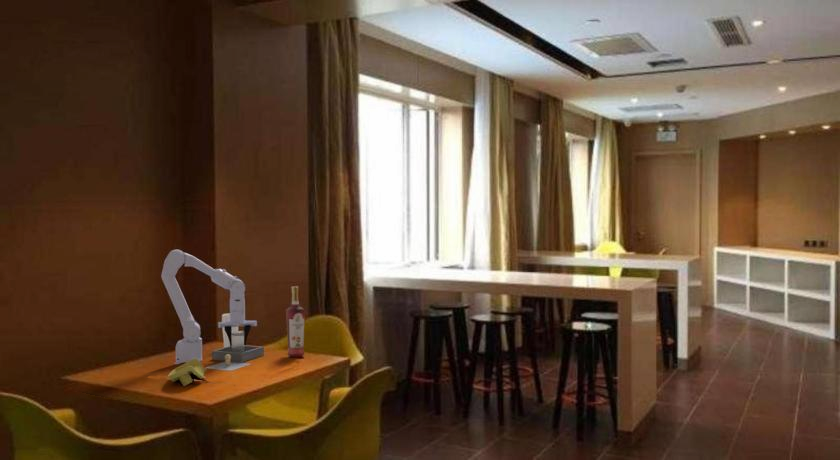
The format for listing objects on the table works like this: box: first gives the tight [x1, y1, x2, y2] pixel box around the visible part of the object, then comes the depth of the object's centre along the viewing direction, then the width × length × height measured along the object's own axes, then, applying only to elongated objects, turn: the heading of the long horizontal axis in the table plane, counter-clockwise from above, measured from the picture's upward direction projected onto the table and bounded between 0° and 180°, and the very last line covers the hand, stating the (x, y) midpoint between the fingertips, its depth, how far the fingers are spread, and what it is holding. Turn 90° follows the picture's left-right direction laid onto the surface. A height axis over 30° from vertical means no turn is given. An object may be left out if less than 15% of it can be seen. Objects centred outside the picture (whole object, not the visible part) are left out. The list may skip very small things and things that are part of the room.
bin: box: [211, 344, 265, 363], centre depth 278 cm, size 14×14×4 cm
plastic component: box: [167, 359, 207, 387], centre depth 244 cm, size 20×7×10 cm
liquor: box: [285, 286, 306, 359], centre depth 282 cm, size 7×7×28 cm
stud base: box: [205, 354, 251, 372], centre depth 262 cm, size 12×12×6 cm
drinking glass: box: [221, 312, 239, 348], centre depth 298 cm, size 7×7×15 cm
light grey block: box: [231, 330, 244, 352], centre depth 277 cm, size 5×5×7 cm
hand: (238, 345), depth 277 cm, fingers closed on light grey block, 5 cm apart
